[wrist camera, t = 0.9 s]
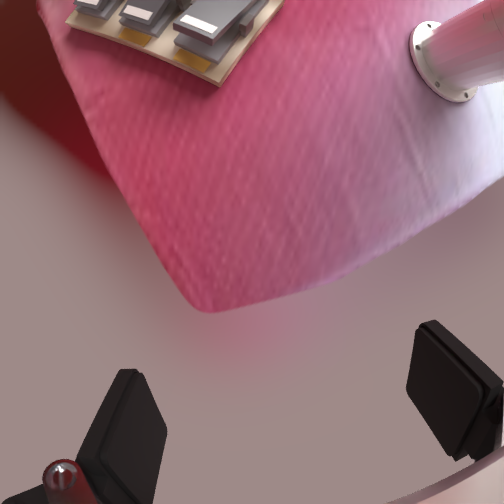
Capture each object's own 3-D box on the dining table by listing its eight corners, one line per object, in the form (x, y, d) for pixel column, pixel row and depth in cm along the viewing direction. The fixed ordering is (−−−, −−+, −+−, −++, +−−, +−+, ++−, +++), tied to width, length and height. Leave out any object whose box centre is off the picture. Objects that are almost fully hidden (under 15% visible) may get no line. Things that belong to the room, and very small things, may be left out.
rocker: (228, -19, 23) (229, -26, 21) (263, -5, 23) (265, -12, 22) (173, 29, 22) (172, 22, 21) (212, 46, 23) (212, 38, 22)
